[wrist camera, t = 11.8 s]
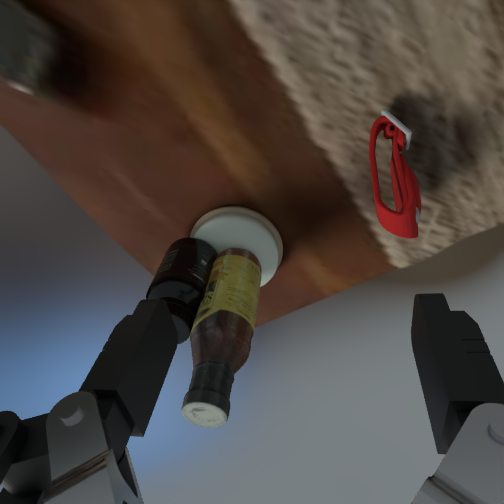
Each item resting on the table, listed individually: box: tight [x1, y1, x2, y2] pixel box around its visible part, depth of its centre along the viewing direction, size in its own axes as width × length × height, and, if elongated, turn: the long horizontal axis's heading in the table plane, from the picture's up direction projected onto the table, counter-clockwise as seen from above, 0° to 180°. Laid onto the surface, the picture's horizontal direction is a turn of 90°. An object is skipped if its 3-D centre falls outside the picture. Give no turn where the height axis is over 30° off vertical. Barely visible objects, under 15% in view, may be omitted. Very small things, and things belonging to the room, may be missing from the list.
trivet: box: [190, 206, 283, 287], centre depth 49 cm, size 12×12×2 cm
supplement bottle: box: [146, 237, 218, 344], centre depth 44 cm, size 7×7×12 cm
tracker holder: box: [369, 109, 421, 239], centre depth 38 cm, size 12×4×10 cm, turn 17°
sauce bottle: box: [182, 248, 262, 428], centre depth 41 cm, size 7×6×20 cm
